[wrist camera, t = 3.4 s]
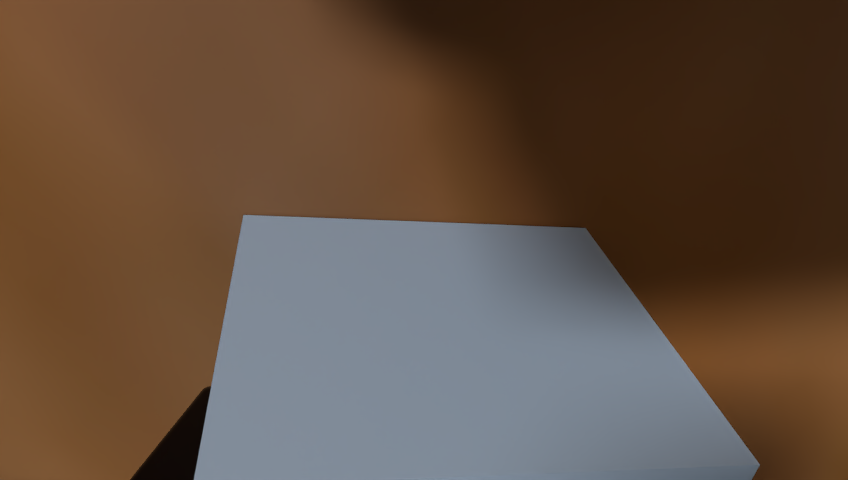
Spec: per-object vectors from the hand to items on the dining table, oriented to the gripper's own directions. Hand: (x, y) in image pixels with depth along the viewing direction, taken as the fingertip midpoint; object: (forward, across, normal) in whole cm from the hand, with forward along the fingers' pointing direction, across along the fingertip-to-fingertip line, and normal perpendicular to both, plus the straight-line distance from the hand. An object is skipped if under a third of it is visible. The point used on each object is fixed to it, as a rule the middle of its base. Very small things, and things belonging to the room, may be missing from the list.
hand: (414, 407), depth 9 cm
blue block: (+1, 0, 0) cm, 1 cm away
